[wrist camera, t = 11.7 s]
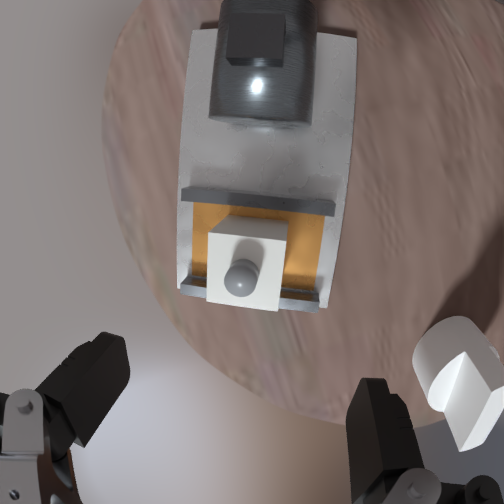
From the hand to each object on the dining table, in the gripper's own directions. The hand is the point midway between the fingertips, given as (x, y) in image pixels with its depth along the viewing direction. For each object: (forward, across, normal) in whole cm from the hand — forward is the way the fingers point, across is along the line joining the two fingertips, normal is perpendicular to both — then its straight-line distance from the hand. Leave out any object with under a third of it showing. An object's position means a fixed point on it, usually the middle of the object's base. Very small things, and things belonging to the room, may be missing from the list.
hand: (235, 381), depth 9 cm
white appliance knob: (+19, -22, +11) cm, 30 cm away
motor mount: (+19, +2, -6) cm, 20 cm away
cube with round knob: (+17, +2, +1) cm, 17 cm away
